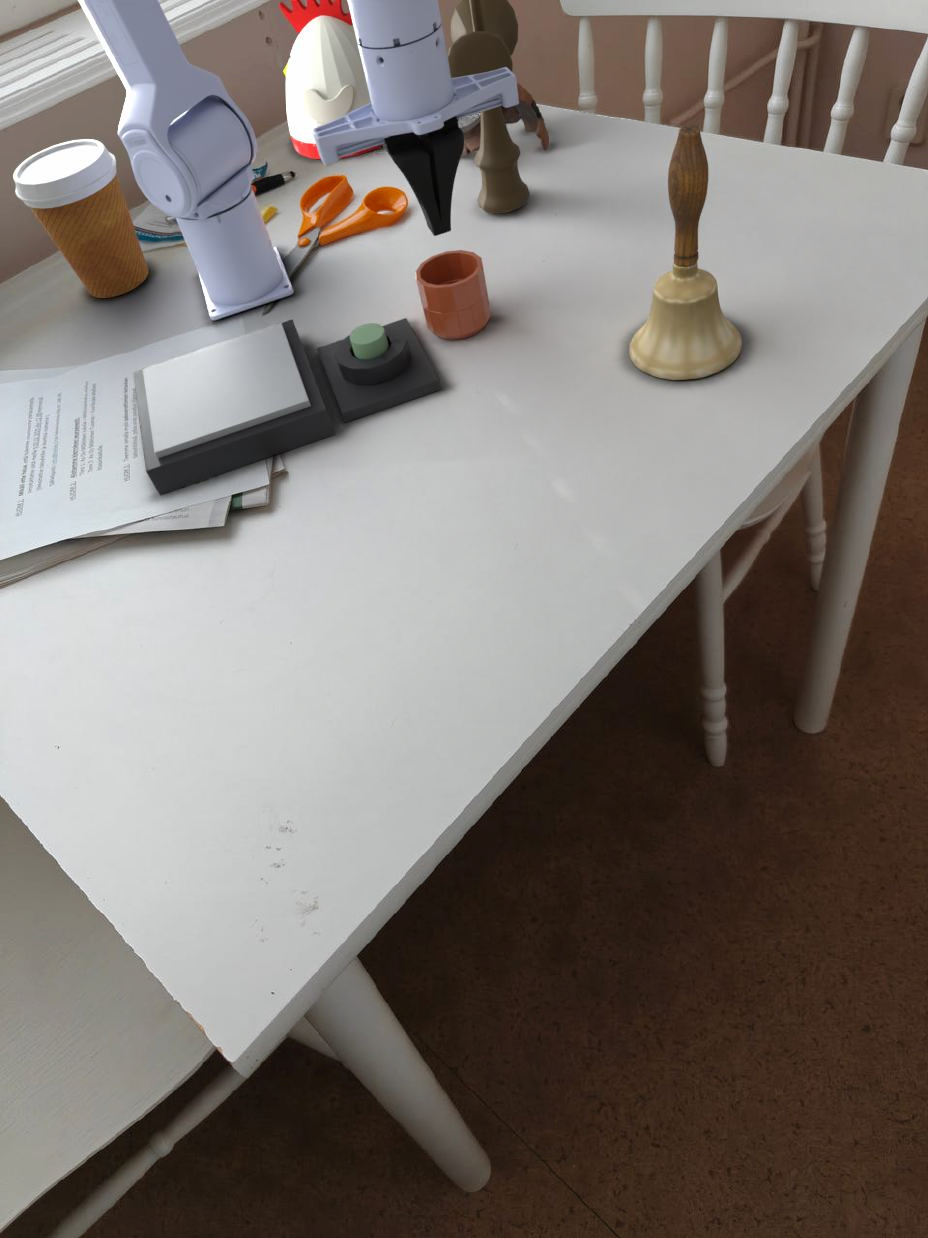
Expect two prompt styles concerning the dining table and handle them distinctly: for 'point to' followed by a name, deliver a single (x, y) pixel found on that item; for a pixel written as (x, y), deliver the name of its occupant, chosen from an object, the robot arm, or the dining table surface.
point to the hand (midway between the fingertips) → (439, 228)
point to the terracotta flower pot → (454, 294)
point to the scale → (228, 406)
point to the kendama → (480, 47)
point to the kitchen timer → (322, 71)
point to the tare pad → (378, 373)
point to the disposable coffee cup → (84, 214)
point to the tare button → (369, 341)
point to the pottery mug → (510, 122)
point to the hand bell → (686, 285)
